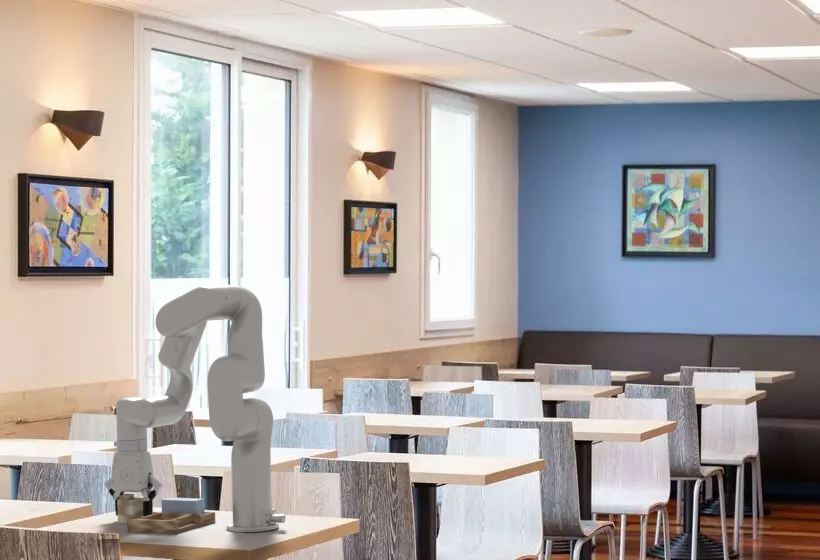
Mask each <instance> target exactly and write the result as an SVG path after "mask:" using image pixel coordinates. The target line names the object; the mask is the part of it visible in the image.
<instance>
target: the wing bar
mask: <svg viewBox="0 0 820 560" xmlns="http://www.w3.org/2000/svg"><path fill="white" fill-rule="evenodd" d="M161 512H166V513H192V514H202V515H203V514H205V512H206V511H205V498H192V497H191V498H190V497H167V498H163V499H161Z"/></svg>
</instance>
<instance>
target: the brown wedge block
mask: <svg viewBox="0 0 820 560" xmlns="http://www.w3.org/2000/svg"><path fill="white" fill-rule="evenodd" d="M134 494H135V493H124V494H123V495H119V499H118V500H117V506H118V516H117V524H126V525H127V519H138V518H141V517H144V516H143V501H145V499H144V497H143V495H142V494H141V495H139V494H135V495H134Z"/></svg>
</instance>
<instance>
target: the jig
mask: <svg viewBox="0 0 820 560" xmlns="http://www.w3.org/2000/svg"><path fill="white" fill-rule="evenodd" d="M213 523H216V511H205V514H203V515H202V514H192V513H166V512H162V511H161V512H159V511H153V512H152V515H149V516H145V517H141V518H138V519H127V524H126V532H128V533H129V532H130V533H149V534H150V533H151V534H170V535H171V534H172V535H174V534H175V535H178V534H181V533H184V532H188V531H190V530H193V529H197V528H201V527H204V526H207V525H211V524H213Z"/></svg>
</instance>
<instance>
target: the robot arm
mask: <svg viewBox="0 0 820 560" xmlns="http://www.w3.org/2000/svg"><path fill="white" fill-rule="evenodd" d="M223 320H228V321H230V322H231V323H230V326H229V328H228V333H227V352H228V353H227V354H228V355H223V356H220V357H217V359H215V360H214V361H213V362H212V364H211V365H210V367H209V369H208V373H207V378H206V379H207V400H208V401H207V402H208V412H209V413H208V416H209V417H208V418H209V424H210V427H211V428H210V429H211V430H212V432H213V434H214V436H216V437H217V438H218V439H219V440H220V441H223V442H233V443H232V448H231V453H230V454H231V456H230V461H231V462H230V464H231V465H230V466H231V468H230V469H231V499H232V503H231V505H232V522H230V523H227V524H226V530H227V531H229V532H232V533H233V532H234V533H260V532H268V531H272V530H276V529H278V528H279V526H280V525H279V524H284V523H285V522H286V514H284V513H283V514H282V513H280V514H278V513H277V511H276V510H277V509H276V508H273V506H272V503H273V502H272V499H273V498H272V472H271V471H272V470H271V469H272V467H271V464H272V463H271V443H272V434H273V429H274V427H273V426H274V415H273V414H274V413H273V411H272V409H271V406H270V405H269V404H268V403H267V402H266V401H265V400H263V399H260V398H256V397H247V398H244V394H247V393H253V392H257V391H258V390H260V389H261V388H262V387H263V385H264V382H265V377H266V376H265V375H266V374H265V372H266V370H265V357H264V356H265V355H264V341H263V309H262V305H261V303H260V301H259V299H258V297H257V296H256V295H255V293H253V292H252V291H251V290H250V289H247V288H245V287H243V286H241V285H240V286H239V285H234V284H219V285H216V284H215V285H212V284H211V285H201V286H198V287H196V288H193V289H191V290H190V291H188V292H186V293H184V294H181V295H180V296H178V297H176V298H174V299H172V300H170V301H169V302H166V303H165V304H164V305H162V307H160V308H159V310H158V311H157V314H156V317H155V328H156V330H157V332H158V333H159V334H160V335H161V336H163V337H164V339H163V342H162V344H161V347H160V350H159V352H158V355H157V356H158V360H159V362H160V363H161V364H162V366H164V367H166V368H167V369H168V370H169V374H170V375H169V376H170V377H169V378H170V379H169V383H168V386H167V388H166V391H165V393H164V395H161V396H154V397H147V398H142V397H138V396H137V397H136V396H135V397H124V398H123V397H121V398H120V399H118V400H117V401H116V404H115V406H116V407H115V408H116V414H115V415H116V440H115V441H114V442H113V446H114V447H116V451H114V455H113V458H112V465H111V477H110V478H109V479H108V480H107V481H106V482H105V483H104V486H105V487H106V489H107V490H108V492H109V494H110V496H112V497H111V498H112V500H113V501H114V510H115V511H114V512H115V516H116V517H118V506H117V500H118V499H119V495H123V494H126V493H125V492H127V493H129V492H130V493H131V492H132V493H141V495H143V497H144V499H145V501H143V516H144V517H145V516H149V515H152V512H154V503H153V501H154V500H155V497H156V496H157V495H158V494H159V491H160V490H161V489H162V487H163V485H162V483H161V482H160V481H159V480H158V479H157V478H156V477H154V471H153V462H152V457H151V453H150V451H149V450H148V429H153V428H159V427H163V426H170V425H174V424H176V423H178V422H179V421H180V420H181V419H183V416H184V415H185V413H186V412H187V409H188V407H189V403H190V402H191V399H192V398H191V397H192V395H193V390H194V387H193V386H194V383H193V373H192V369H191V368H192V367H191V366H192V363H193V361H194V358H195V356H196V353H197V350H198V348H199V344H200V342H201V340H202V337H203V335H204V333H205V329H206V326H207V323H208V321H223Z"/></svg>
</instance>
